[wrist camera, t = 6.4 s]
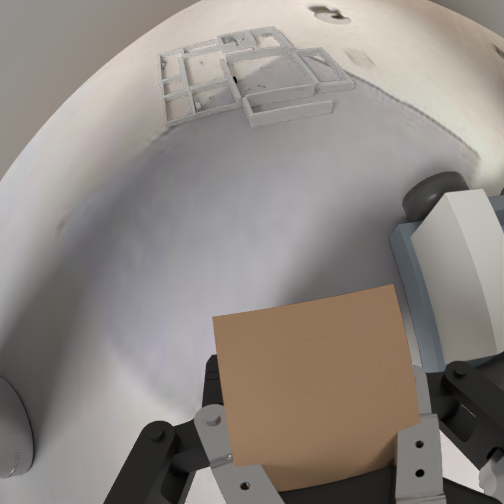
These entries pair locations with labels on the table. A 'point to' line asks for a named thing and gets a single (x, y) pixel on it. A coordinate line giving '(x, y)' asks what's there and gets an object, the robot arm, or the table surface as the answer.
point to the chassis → (454, 273)
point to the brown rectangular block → (317, 386)
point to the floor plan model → (259, 97)
